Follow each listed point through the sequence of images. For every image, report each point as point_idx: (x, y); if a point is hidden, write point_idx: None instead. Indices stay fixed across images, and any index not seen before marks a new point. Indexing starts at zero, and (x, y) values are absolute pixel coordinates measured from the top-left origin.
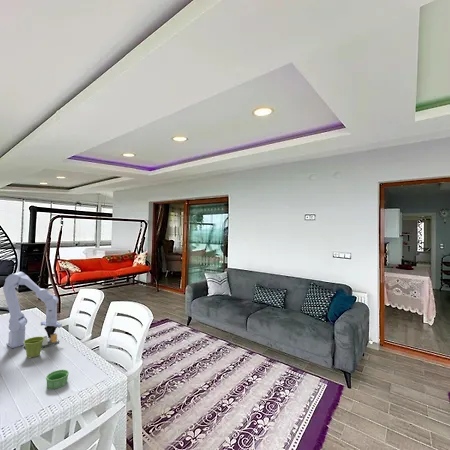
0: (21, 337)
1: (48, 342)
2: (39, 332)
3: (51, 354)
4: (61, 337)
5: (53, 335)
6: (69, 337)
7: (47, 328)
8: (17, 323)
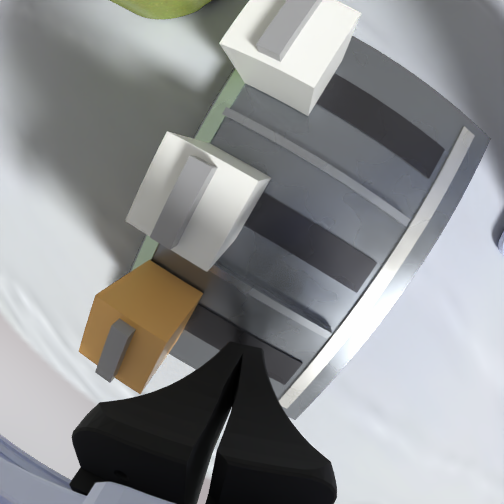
0: None
1: None
2: (479, 467)
3: (36, 48)
4: None
5: (95, 315)
6: None
7: (185, 449)
8: None
